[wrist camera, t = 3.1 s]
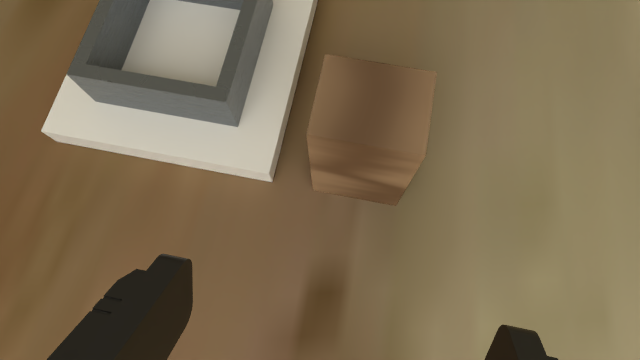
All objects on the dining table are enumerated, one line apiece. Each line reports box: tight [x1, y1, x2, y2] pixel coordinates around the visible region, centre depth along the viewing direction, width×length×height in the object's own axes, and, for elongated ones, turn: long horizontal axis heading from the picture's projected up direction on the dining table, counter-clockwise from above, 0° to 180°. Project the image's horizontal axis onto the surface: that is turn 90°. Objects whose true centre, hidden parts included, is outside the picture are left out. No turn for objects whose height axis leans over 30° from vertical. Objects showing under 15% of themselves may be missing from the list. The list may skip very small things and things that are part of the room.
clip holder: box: [41, 0, 318, 182], centre depth 26 cm, size 14×14×4 cm
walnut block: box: [306, 54, 437, 206], centre depth 22 cm, size 5×4×8 cm
